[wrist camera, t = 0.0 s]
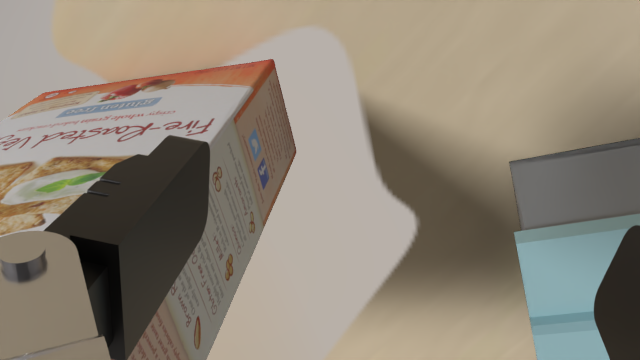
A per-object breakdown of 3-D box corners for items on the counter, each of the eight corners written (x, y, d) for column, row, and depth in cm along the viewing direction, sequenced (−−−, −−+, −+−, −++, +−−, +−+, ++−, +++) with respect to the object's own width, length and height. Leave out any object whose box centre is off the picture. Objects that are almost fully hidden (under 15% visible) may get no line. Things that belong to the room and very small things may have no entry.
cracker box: (273, 47, 28) (5, 426, 10) (300, 153, 30) (128, 584, 13) (37, 83, 31) (-468, 412, 14) (81, 175, 34) (-285, 540, 17)
